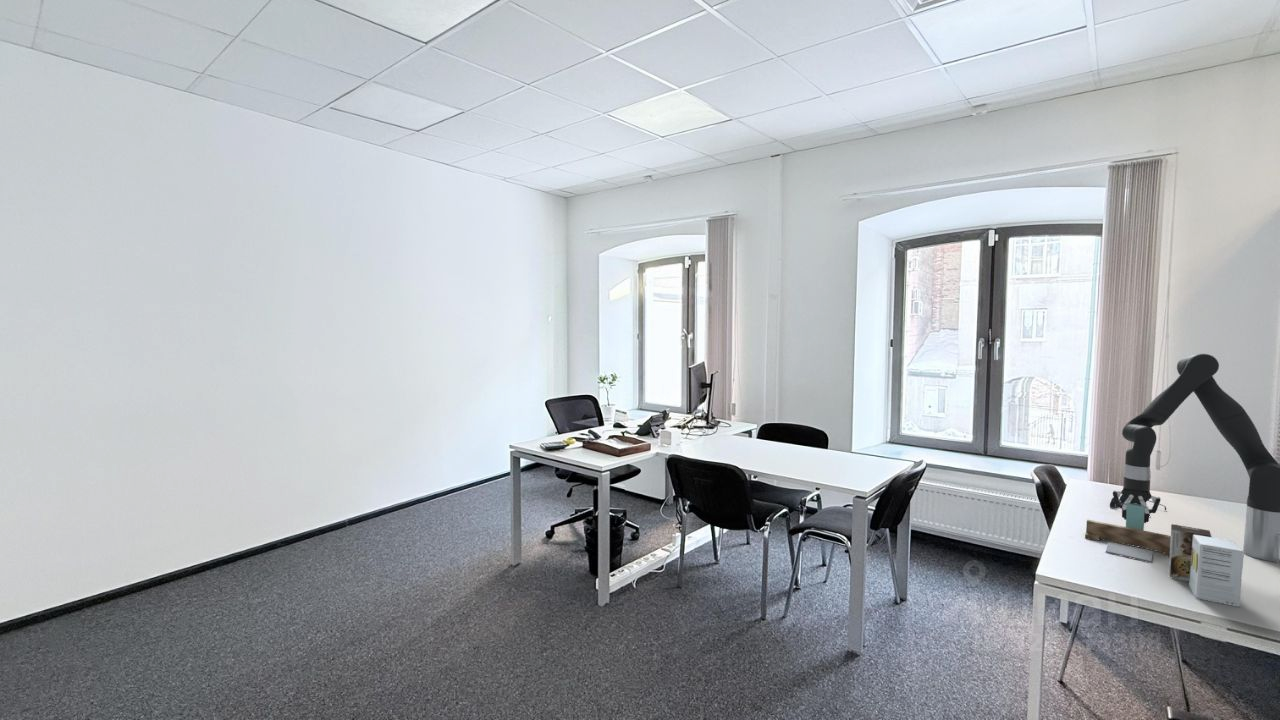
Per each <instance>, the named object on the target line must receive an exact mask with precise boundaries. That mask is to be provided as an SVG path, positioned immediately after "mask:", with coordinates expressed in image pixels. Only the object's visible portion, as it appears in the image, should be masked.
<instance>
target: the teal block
mask: <svg viewBox="0 0 1280 720" xmlns="http://www.w3.org/2000/svg"><path fill="white" fill-rule="evenodd" d="M1144 513H1145V506H1142V505H1141V504H1137V503H1129V504H1127V510H1126V520H1125V527H1128V528H1133V529H1138V530H1144V531H1145V523H1144Z"/></svg>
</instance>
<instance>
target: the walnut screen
mask: <svg viewBox="0 0 1280 720" xmlns="http://www.w3.org/2000/svg"><path fill="white" fill-rule="evenodd" d="M1085 528H1086V529H1085V535H1084V539H1087V538H1089V539H1088V540H1091V539H1093V540H1092V541H1096V540H1097V542H1099V540H1102V539H1104V541H1107V540H1108V542H1112V541H1114V542H1113V543H1117V542H1119V543H1118V544H1121V543H1124V544H1123V545H1126V544H1129V545H1128V546H1131V545H1134V546H1133V547H1135V546H1139V547H1138V548H1140V547H1143V548H1142V549H1145V548H1148V549H1147V550H1149V549H1152V550H1151V551H1154V550H1157V551H1156V552H1159V551H1160V552H1159V553H1163V554H1164V556H1167V557H1170V540H1171V535H1169V534H1165V533H1164V534H1163V533H1157V532H1152V531H1148V530H1145V529H1144V530H1138V529H1133V528H1128V527H1126V526H1122V525H1117V524H1112V523H1106V522H1101V521H1096V520H1092V519H1086V527H1085Z"/></svg>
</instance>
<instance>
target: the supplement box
mask: <svg viewBox="0 0 1280 720" xmlns="http://www.w3.org/2000/svg"><path fill="white" fill-rule="evenodd" d="M1244 556H1245V553H1244V551H1243V549H1242V548H1241V547H1240V546H1239V545H1238V544H1237V543H1236V541H1234V540H1229V539H1224V538H1217V537H1206V536H1200V535H1193V542H1192V556H1191V569H1190V582H1189V581H1188V582H1189V583H1188V587H1189V589H1190V590H1191V591H1192V594H1193V595H1194V597H1195V598H1196V599H1198V600H1202V601H1207V600H1208V602H1213V603H1217V602H1219V603H1218V604H1222V603H1224V604H1223V605H1227V604H1228V606H1231V605H1233V606H1232V607H1236V606H1237V607H1236V608H1240V606H1241V605H1240V604H1241V592H1242V582H1243V581H1242V577H1243V576H1242V575H1243V568H1244V558H1245V557H1244Z"/></svg>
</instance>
